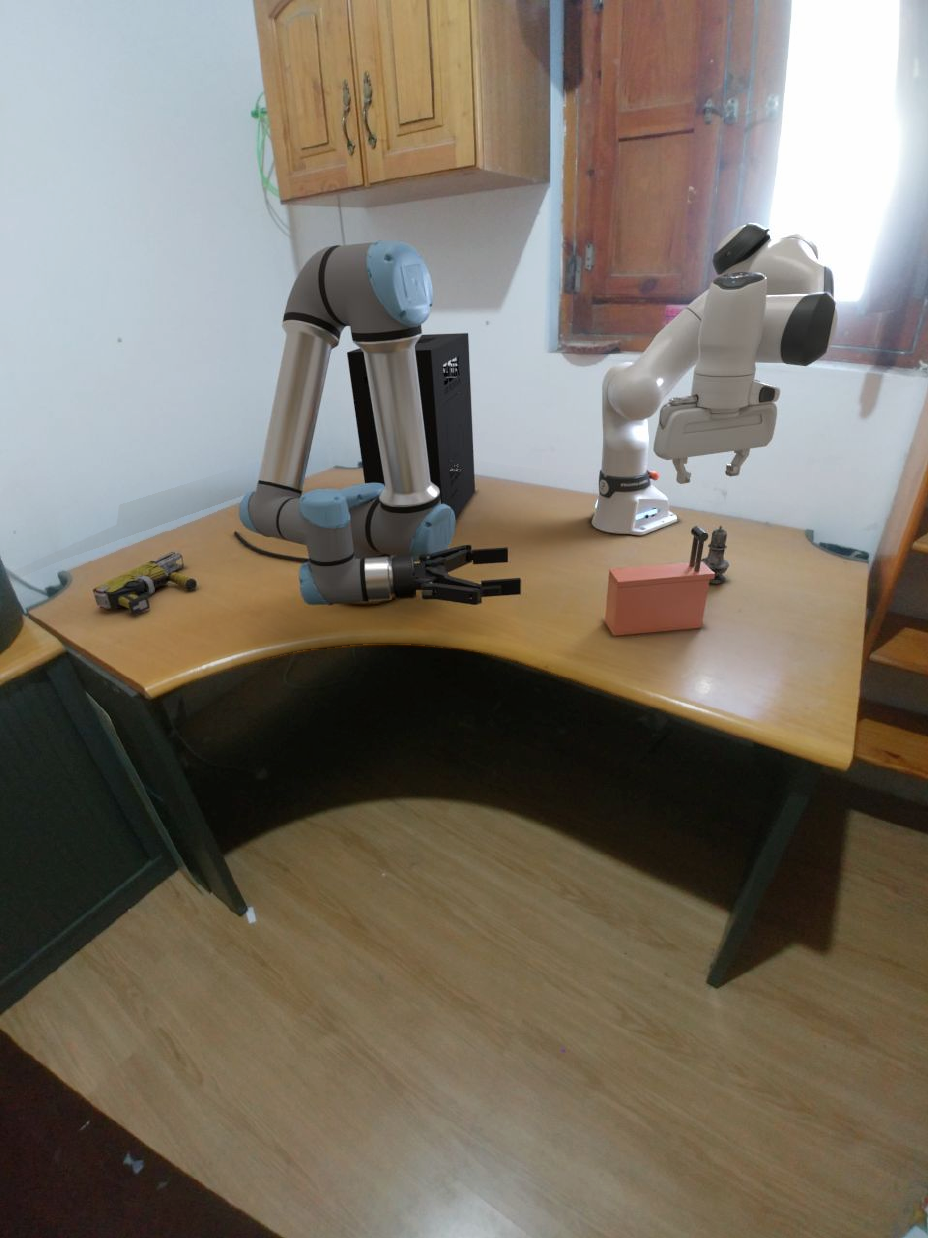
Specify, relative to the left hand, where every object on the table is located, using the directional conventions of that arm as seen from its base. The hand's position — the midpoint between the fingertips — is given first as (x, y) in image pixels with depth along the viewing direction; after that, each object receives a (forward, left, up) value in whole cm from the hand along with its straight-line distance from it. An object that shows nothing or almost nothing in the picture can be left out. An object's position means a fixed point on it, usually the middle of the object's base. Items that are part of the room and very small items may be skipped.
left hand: (513, 569), depth 106 cm
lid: (+24, +12, -4) cm, 27 cm away
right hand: (+30, +14, +13) cm, 36 cm away
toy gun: (-83, -1, -14) cm, 85 cm away
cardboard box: (-43, +61, -14) cm, 76 cm away
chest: (+24, +12, -14) cm, 30 cm away
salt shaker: (+34, +34, -14) cm, 51 cm away
